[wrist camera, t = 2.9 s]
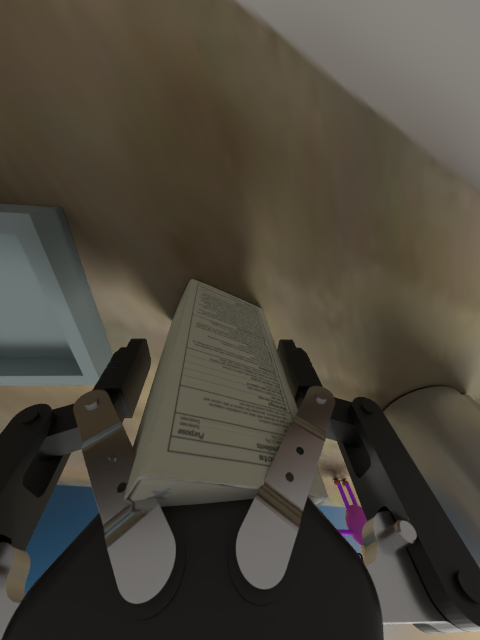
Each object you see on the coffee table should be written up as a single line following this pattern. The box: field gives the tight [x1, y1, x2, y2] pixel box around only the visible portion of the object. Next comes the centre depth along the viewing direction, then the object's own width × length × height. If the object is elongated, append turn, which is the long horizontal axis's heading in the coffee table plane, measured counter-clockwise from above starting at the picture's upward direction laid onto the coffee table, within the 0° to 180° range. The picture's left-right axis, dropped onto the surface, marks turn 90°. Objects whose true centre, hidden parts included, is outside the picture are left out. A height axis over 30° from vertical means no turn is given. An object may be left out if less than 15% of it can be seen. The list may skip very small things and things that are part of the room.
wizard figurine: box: [334, 479, 367, 562], centre depth 31 cm, size 11×3×12 cm, turn 69°
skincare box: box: [124, 279, 329, 507], centre depth 12 cm, size 6×4×12 cm
